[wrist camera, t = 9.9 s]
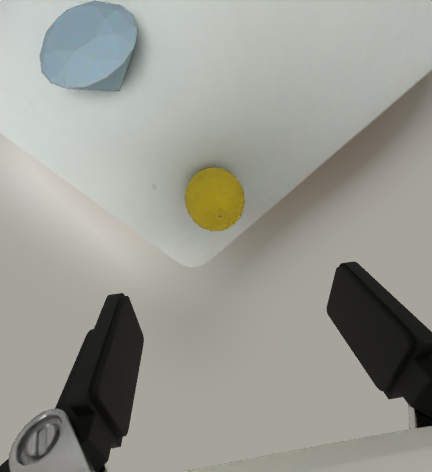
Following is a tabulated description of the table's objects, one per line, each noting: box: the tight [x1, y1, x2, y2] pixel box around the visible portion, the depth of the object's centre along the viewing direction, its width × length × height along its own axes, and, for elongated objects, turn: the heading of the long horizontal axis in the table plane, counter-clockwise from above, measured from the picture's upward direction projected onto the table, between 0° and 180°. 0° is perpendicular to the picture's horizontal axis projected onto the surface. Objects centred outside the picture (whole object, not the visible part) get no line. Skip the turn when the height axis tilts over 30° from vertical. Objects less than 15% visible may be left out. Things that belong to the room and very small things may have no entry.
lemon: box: [185, 167, 245, 231], centre depth 22 cm, size 6×6×8 cm
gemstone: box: [40, 1, 138, 91], centre depth 18 cm, size 8×8×5 cm
